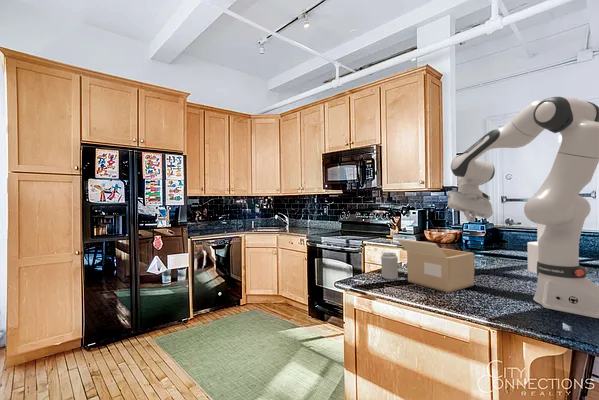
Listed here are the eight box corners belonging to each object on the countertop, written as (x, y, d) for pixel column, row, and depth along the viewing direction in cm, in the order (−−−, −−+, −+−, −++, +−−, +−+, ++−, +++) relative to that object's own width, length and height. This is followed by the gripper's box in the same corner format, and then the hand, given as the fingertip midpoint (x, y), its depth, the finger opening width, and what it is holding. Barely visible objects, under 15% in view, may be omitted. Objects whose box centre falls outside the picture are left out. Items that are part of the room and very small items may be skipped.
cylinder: (555, 268, 162) (554, 214, 162) (582, 276, 145) (581, 216, 145) (520, 267, 164) (519, 214, 164) (542, 276, 147) (541, 216, 147)
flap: (435, 243, 122) (435, 244, 121) (446, 256, 125) (446, 257, 125) (397, 238, 138) (396, 239, 138) (407, 249, 142) (407, 251, 141)
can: (394, 281, 144) (394, 255, 144) (379, 278, 148) (378, 253, 148) (400, 277, 150) (399, 252, 150) (385, 275, 154) (384, 251, 154)
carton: (476, 285, 134) (475, 253, 134) (449, 293, 124) (448, 258, 124) (432, 275, 152) (432, 246, 152) (406, 281, 143) (405, 250, 142)
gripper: (452, 185, 142) (453, 211, 136) (493, 197, 144) (496, 223, 137) (444, 192, 148) (445, 217, 141) (483, 203, 149) (486, 229, 142)
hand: (471, 220), depth 139 cm, fingers closed
